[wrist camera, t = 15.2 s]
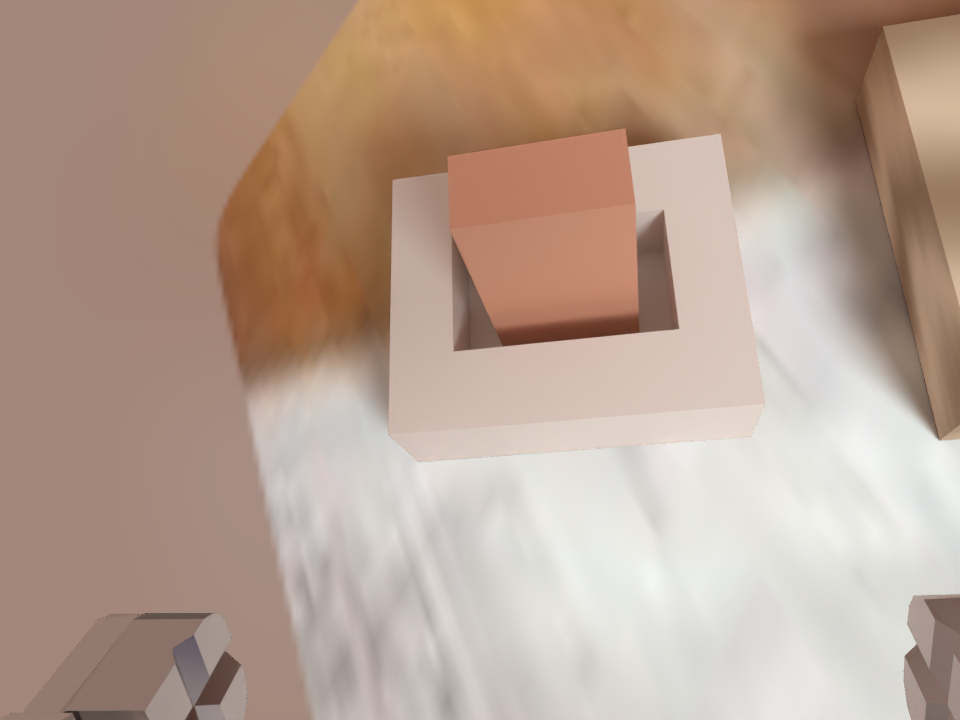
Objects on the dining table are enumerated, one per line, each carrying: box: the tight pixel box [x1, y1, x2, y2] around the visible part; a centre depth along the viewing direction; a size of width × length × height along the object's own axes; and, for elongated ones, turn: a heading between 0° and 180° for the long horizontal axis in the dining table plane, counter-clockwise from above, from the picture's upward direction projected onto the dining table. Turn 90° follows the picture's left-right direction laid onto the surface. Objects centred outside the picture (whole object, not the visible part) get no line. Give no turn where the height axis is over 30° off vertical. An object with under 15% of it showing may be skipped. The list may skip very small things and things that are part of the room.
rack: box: [388, 134, 765, 462], centre depth 29 cm, size 10×12×4 cm
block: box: [447, 128, 639, 347], centre depth 26 cm, size 2×5×9 cm, turn 92°
